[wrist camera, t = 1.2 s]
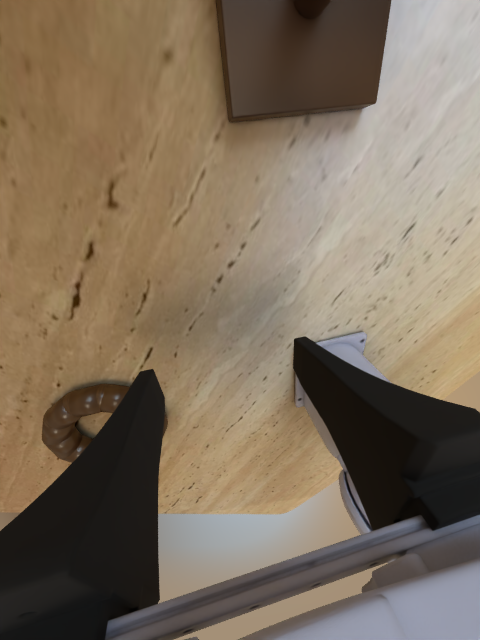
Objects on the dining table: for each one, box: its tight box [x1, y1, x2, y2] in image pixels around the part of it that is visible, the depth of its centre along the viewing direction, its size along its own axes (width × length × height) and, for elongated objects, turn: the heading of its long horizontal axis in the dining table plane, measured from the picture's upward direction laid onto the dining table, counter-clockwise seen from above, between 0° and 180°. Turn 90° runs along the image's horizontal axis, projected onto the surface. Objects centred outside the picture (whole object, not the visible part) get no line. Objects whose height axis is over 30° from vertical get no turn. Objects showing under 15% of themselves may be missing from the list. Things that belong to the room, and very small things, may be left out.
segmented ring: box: [42, 384, 168, 463], centre depth 23 cm, size 11×11×2 cm
